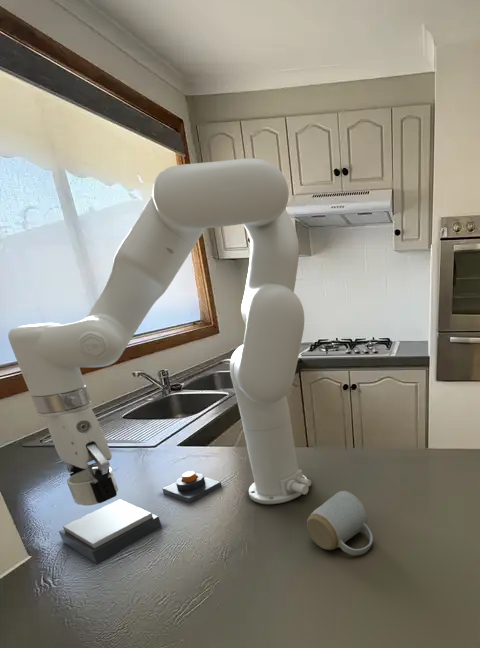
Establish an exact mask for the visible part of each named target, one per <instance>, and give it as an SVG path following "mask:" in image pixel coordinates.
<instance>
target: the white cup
mask: <svg viewBox="0 0 480 648" xmlns="http://www.w3.org/2000/svg"><path fill="white" fill-rule="evenodd" d="M109 468H110V474H111V479H112V481H113V484H114V487H115V490H116V493H117V494H118V491H119V487H118V483H117V481H116V478H115V476H114V472H113V470H112V467H110V466H109ZM97 469H98V468H97V467H94V468H92V471H93V472H94V474H95V471H96V470H97ZM66 483H67V486H68V489H69V491H70V494H71V497H72V498H73V501H74V504H76V505H80V506H95V505H98V504H100V503H98V502H97V501H96V498H95V496H94V493H93V490H92V487H91V485H90V483H92V481H91V479H90V477H89V475H88V474H87V472H86V470H83V471H80V472H78V473H76V474H74V475H72V476H70V475H69V477H68V479H66Z"/></svg>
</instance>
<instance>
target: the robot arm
mask: <svg viewBox="0 0 480 648" xmlns="http://www.w3.org/2000/svg"><path fill="white" fill-rule="evenodd" d="M289 194H290V192H289V185H288V182H287V179H286V178H285V175H284V174H283V172H282V171H281V169H280V168H278V167H277V166H276V165H275V164H273V163H272V162H271V161H268V160H266V159H262V158H257V157H248V158H247V157H246V158H237V159H235V158H234V159H227V160H217V161H208V162H207V161H206V162H195V163H194V162H193V163H185V164H178V165H172V166H169V167H167V168H165V169H163V170H162V171H160V172H159V173H158V175H157V176H156V177H155V179H154V182H153V186H152V194H151V196H150V197H149V199H148V200H147V202H146V204H145V206H144V207H143V209H142V210H141V212H140V213H139V216H138V217H137V219H136V220H135V222H134V224H133V225H132V227H131V228H130V230H129V231H128V233H127V234H126V236H125V237H124V239H123V240H122V241H121V244H120V245H119V246H118V248H117V250H116V252H115V254H114V257H113V261H112V267H111V271H110V274H109V276H108V279H107V281H106V283H105V285H104V287H103V289H102V291H101V292H100V294H99V296H98V297H97V299H96V300H95V302H94V303H93V305H92V307H91V309H90V310H89V312H88V313H87V315H86V316H85V318H83V319H81V320H78V321H74V322H70V323H65V324H60V323H56V322H44V323H34V324H26V325H20V326H15V327H13V328H11V329H10V330H9V332H8V336H7V337H8V341H9V344H10V347H11V349H12V352H13V355H14V357H15V359H16V362H17V364H18V367H19V369H20V372H21V374H22V377H23V379H24V382H25V384H26V387H27V390H28V392H29V394H30V398H31V400H32V404H33V406H34V408H35V410H36V412H37V415H38V416H39V417H44V420H45V423H46V425H47V429H48V432H49V435H50V438H51V441H52V443H53V446H54V448H55V451H56V453H57V456H58V457H59V458H60V460H61V461H63V462H65V463H66V469H67V472H68V473H69V477H70V476H72V475H74V474H76V473H78V472H80V471H83V470H86V472H87V474H88V475H89V477H90V479H91V481H92V483H90V485H91V487H92V490H93V493H94V496H95V498H96V501H97V502H98V503H99V504H103V503H104V502H106V501H109V500H111V499H114V498H115V497H117V495H118V492H117V493H116V490H115V487H114V484H113V481H112V479H111V474H110V468H111V467H110V466H111V465H110V462H109V461H111V460H112V458H113V455H112V451H111V450H110V449H111V448H110V447H109V444H108V441H107V439H106V437H105V434H104V431H103V429H102V426H101V425H100V422H99V420H98V418H97V416H96V414H95V412H94V411H93V409H92V407H91V406H92V405H93V403H92V401H91V398H90V394H89V392H88V388H87V385H86V382H85V380H84V377H83V373H82V371H81V368H104V367H108V366H110V365H113V364H115V363H116V362H117V361H118V360H119V359H120V358H121V357H122V355H123V353H124V352H125V350H126V349H127V347H128V345H129V344H130V342H131V340H132V338H133V336H134V335H136V332H137V330H138V329H139V327H140V326H141V324H142V322H143V321H144V320H145V318H146V317H147V315H148V313H149V312H150V310H151V309H152V307H153V306H154V304H155V303H156V302H157V301H158V300H159V299H160V298H161V297H162V296H163V295H164V294H165V292H166V291H167V290H168V288H169V287H170V285H171V284H172V282H173V281H174V279H175V277H176V276H177V274H178V272H179V271H180V269H181V268H182V267H183V265H184V263H185V261H186V260H187V258H188V257H189V255H190V253H191V252H192V250H193V249H194V248H195V246H196V244H197V243H198V241H199V240H200V238H201V237H202V235H203V233H204V232H205V231H206V229H214V228H222V227H230V226H238V225H239V226H240V225H242V226H243V227H244V228H245V230H246V232H247V234H248V237H249V242H250V254H249V263H248V270H247V277H246V282H245V288H244V292H243V298H242V302H241V307H240V312H241V318H242V320H243V322H244V325H245V331H244V338H243V344H241V345H239V346H238V347H237V348H235V350H234V352H233V353H232V355H231V357H230V359H229V360H230V361H229V374H230V378H231V383H232V386H233V390H234V394H235V398H236V402H237V406H238V412H239V414H240V415H239V416H240V420H241V425H242V429H243V434H244V439H245V444H246V449H247V454H248V458H249V463H250V468H251V472H252V477H253V481H254V482H252V484H251V485H250V486H249V488H248V495H249V498H250V499H251V500H252V501H253V502H256V503H258V504H260V505H261V504H262V505H279V504H283V503H288V502H290V501H292V500H294V499H296V498H298V497H300V496H301V495H307V494H308V492H309V487H311V486H312V480H311V479H309V478H307V476H306V475H304V474H303V469H300V468H299V463H298V458H297V451H296V445H295V440H294V438H295V437H294V431H293V426H292V420H291V419H292V417H291V414H290V413H291V412H290V408H289V402H288V397H287V394H288V393H289V391H290V390H291V388H292V385H293V383H294V379H295V376H296V370H297V366H298V362H299V361H298V360H299V356H300V351H301V346H302V341H303V334H304V330H305V310H304V307H303V304H302V301H301V300H300V298H299V297H298V295H297V294H296V293H295V288H296V283H297V281H296V280H297V274H298V268H299V267H298V266H299V257H300V244H299V237H298V233H297V231H296V228H295V225H294V223H293V220H292V219H291V217H290V216H291V215H290V214H289V212H288V211H287V210H286V208H287V206H288V203H289ZM93 461H94V462H93ZM90 462H93V463H90ZM89 463H90V464H89ZM94 467H97V468H98V469H97V470H96V471H95V474H94V472H93V471H92V468H94ZM109 467H110V468H109Z"/></svg>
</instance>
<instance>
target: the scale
mask: <svg viewBox="0 0 480 648" xmlns="http://www.w3.org/2000/svg"><path fill="white" fill-rule="evenodd" d="M62 528H63V529H61V530H59V531H58V534H59V535H60V538H61V540H62V542H63V544H65V545H66V546H68V547H70V548H72V549H73V550H74V551H76V552H78V553H79V554H81V555H83V556H84V557H85V558H87V559H89V560H90V561H92V562H93V563H94V564H96V565H97V564H100V563H102V562H103V561H105V560H107V559H108V558H110V557H112V556H114V555H116V554H117V553H119V552H121V551H123V550H124V549H126V548H128V547H129V546H132V545H133V544H135V543H137V542H139V541H140V540H142V539H144V538H146V537H147V536H149V535H151V534H153V533H154V532H156V531H158V530H159V529H161V528H162V523H161V520H160V516H158V515H156V514H153V513H152V512H150V511H148V510H146V509H143V508H142V507H139V506H137V505H135V504H132V503H131V502H128V501H125V500H123V499H121V498H119V499H117V500H115V501H113V502H110V503H109V504H107V505H104V506H102V507H100V508H97V509H96V510H93V511H92V512H90V513H88V514H85V515H83V516H81V517H78V518H77V519H75V520H73V521H70V522H67V524H64V525H62Z"/></svg>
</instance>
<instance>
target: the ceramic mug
mask: <svg viewBox="0 0 480 648" xmlns="http://www.w3.org/2000/svg"><path fill="white" fill-rule="evenodd" d="M367 524H368V514H367V511H366V509H365V506H364V505H363V503H362V502H361V501H360V500H359V499H358V498H357V497H356V496H355V495H354V494H353V493H351V492H350V491H346V490H340V491H337V492H336V493H335V494H334V495H332V496H331V497H330V498H328V499H327V500H326V501H325V502H323V503H322V504H321V505H319V506H318V507H317V508H316V509H314V510H313V512H311V513H310V514H309V516H308V518H307V519H306V528H307V529H306V530H307V532H308V534H309V536H310V538H311V539H312V540H313V542H314V543H315V544H316V545H317V546H318V547H320V548H321V549H324V550H327V551H333V550H335V549H338V548H339V549H341V551H343V552H344V553H346V554H349V556H350V555H351V556H361V555H364V554H366V553H367V552H368V551H369V550H370V549H371V547H372V545H373V542H374V538H373V534H372V531H371V529H370V528H369V527H368V525H367ZM361 531H363V532H364V534H365V535H366V536H367V538H368V544H367V545H365V546H364V547H361V548H353V547H351V546H348V544H346V542H347V541H349V540H350V539H352V538H353V537H354V536H356V535H357V534H358V533H361Z"/></svg>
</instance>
